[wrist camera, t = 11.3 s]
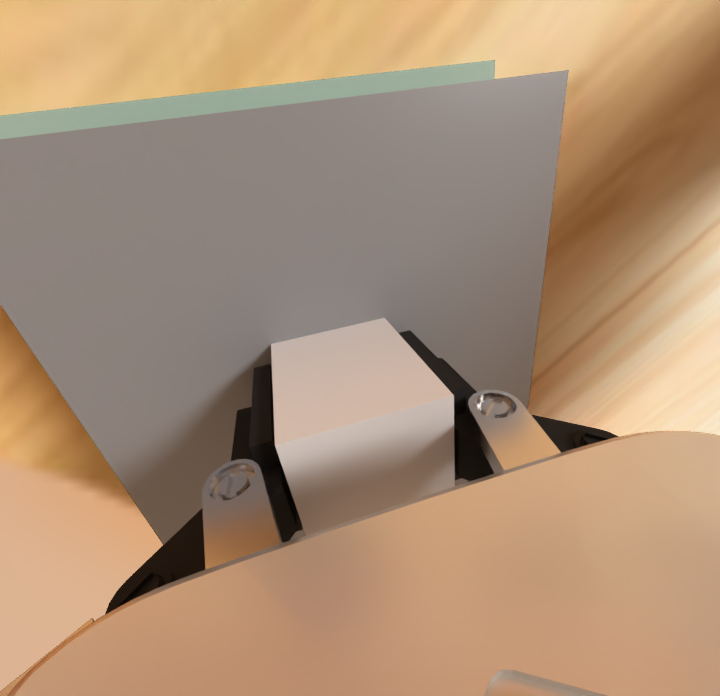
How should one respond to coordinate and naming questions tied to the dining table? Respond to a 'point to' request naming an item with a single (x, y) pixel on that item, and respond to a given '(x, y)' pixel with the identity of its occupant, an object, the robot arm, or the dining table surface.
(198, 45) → the dining table surface
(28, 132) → the mat
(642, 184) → the dining table surface
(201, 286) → the cover
